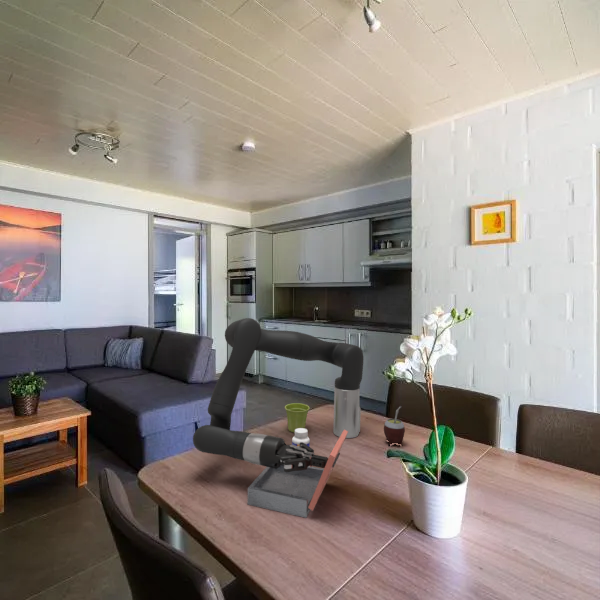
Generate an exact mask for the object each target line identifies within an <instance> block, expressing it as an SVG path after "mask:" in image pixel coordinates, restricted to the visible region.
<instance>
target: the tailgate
mask: <svg viewBox="0 0 600 600" xmlns="http://www.w3.org/2000/svg"><path fill="white" fill-rule="evenodd" d="M347 433H348V431H346V430H343V432H342V434H341V436H340V437H338V440H337V441H336V443H335V445H334V447H333V449H332V450H331V452H330V454H329V457H327V458H328V461H327V463H326V466H325V468H323V469H324V471H323V473H322V475H321V478H320V480H319V483H318V485H317V488H316V490H315V492H314V495H313V497H312V500H311V502H310V505H309V507H308V508H309V509H311V510H310V511H313V512H314V509H315V507H316V505H317V503H318V502H319V499H320V497H321V495H322V492H323V491H324V489H325V487H326V486H327V482H328V481H329V478H330V477H331V474H332V471H333V470H334V468H335V465H336V463H337V462H338V459H339V458H340V454H341V450H342V448H343V445H344V444H345V443H344V442H345V440H346V439H347V438H346V436H347Z"/></svg>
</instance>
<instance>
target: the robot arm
mask: <svg viewBox="0 0 600 600" xmlns="http://www.w3.org/2000/svg"><path fill="white" fill-rule="evenodd" d="M224 339H225V341H226V343H227V344H228V346H230V347H231V348H232V349H231V353H230V356H229V358H228V360H227V363H226V365H225V367H224V369H223V371H222V372H221V374H220V376H219V377H218V380H217V381H216V384H215V385H214V388H213V392H212V393H211V397H210V401H209V403H208V406H207V413H208V414H209V416H210V423H209V424H205V425H202V426H199V427H198V428H196V430H195V432H194V433H193V434H192V435H193V436H192V444H193V446H194V448H195V449H196V450H198V452H201V453H204V454H212V455H219V456H225V457H229V458H231V459H235V460H240V461H244V462H248V463H250V464H253V465H258V466H262V467H265V468H266V467H270V468H275V469H277V468H279V467H280V466H281V465H282V466H284V472H291V471H299V470H306V469H307V467H317V468H323V469H324V468H325V466H326V463H327V461H328V458H329V457H327V456H323V455H318V454H315V450H314V448H313V447H310V446H307V445H306V444H305V443H303V442H300V446H295V445H292V444H286V441H285V439H284V438H283V437H279V436H274V435H267V434H263V433H253V432H247V431H242V430H231V424H232V423H231V422H232V415H233V414H232V413H233V411H234V407H235V404H236V400H237V397H238V395H239V390H240V387H241V384H242V382H243V380H244V377H245V373H246V371H247V369H248V367H249V364H250V361H251V360H252V357H253V355H254V353H255V352H256V351H258V352H259V351H260V352H265V353H268V354H272V355H276V356H279V357H283V358H286V359H287V358H288V359H291V360H297V361H303V362H313V361H320V362H324V363H328V364H331V365H333V366H336V367H338V368H341V376H339V377H337V378H335V380H334V392H333V393H334V395H333V396H334V399H333V404H334V405H333V434H334V435H335V436H337V437H338V438H340V436H341V434H342V432H343V430H346V431H348V433H347V436H346V438H345V439H352V438H353V439H354V438H356V437H358V435H359V434H360V433H361V413H362V412H361V411H362V409H361V407H360V394H361V393H360V387H361V383H362V379H363V373H364V371H363V369H364V353H363V350H362V348H361V347H359V346H358V345H355V344H351V343H346V342H333V341H326V340H323V339H320V338H319V337H316V336H313V335H310V334H307V333H303V332H299V331H293V330H274V329H273V330H270V329H264V328H262V327H261V325H260V324H259V322H258V321H257V320H255V319H254V318H251V317H250V318H249V317H246V318H241V319H238V320H236V321H233V322H232V323H230V324H229V325H228V326H227V327H226V329H225V330H224ZM359 432H360V433H359Z"/></svg>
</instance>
